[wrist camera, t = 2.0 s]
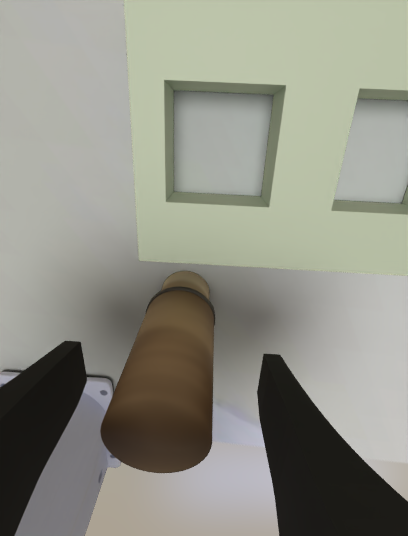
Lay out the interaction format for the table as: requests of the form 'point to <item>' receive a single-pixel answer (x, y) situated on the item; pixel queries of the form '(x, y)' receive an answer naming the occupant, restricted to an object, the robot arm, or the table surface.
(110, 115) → the table surface
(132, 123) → the board
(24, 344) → the table surface
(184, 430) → the peg
